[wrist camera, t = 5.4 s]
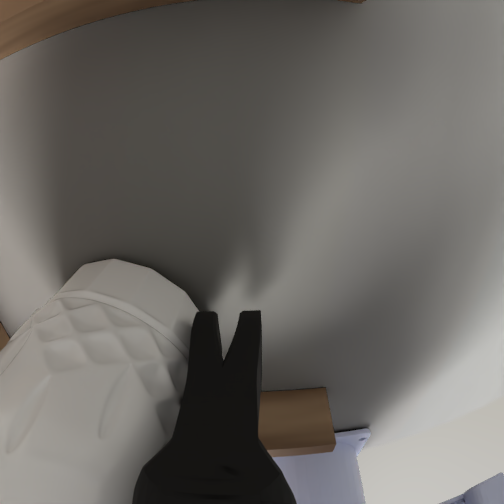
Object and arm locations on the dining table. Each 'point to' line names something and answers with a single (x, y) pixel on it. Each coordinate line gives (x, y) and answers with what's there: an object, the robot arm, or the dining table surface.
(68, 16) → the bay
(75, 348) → the white cup
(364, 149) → the dining table surface
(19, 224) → the dining table surface
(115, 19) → the dining table surface
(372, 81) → the dining table surface
